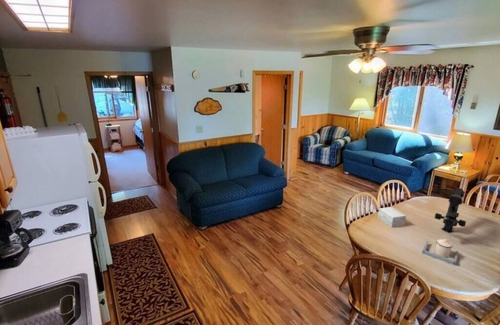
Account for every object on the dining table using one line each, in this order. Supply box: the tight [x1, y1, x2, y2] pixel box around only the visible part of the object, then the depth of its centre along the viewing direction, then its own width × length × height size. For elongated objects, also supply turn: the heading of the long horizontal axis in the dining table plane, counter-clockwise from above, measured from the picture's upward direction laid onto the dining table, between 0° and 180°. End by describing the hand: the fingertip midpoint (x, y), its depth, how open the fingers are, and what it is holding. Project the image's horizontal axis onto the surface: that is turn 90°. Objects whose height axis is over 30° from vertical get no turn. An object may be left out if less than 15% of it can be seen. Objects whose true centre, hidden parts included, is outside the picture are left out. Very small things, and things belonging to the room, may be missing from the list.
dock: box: [421, 240, 459, 266], centre depth 190 cm, size 15×19×2 cm
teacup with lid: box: [434, 238, 453, 258], centre depth 190 cm, size 12×9×12 cm
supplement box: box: [377, 206, 407, 228], centre depth 231 cm, size 17×13×9 cm
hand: (446, 230), depth 199 cm, fingers closed
